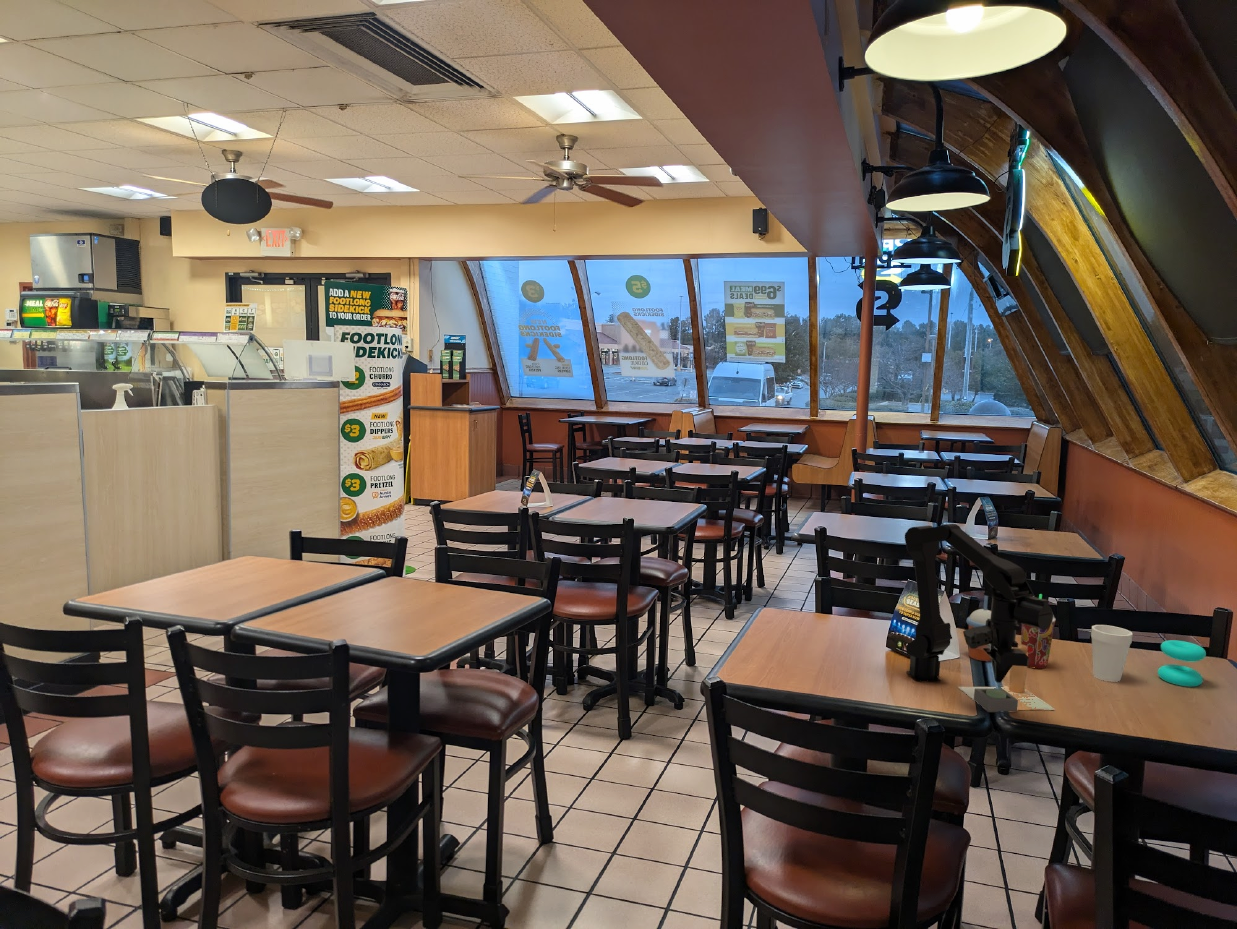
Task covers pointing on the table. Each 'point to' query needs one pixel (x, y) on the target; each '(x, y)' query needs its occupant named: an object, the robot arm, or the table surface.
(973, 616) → the cup with straw
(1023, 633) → the smoothie
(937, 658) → the robot arm
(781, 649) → the table surface
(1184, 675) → the donuts
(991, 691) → the button
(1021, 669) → the tan cylindrical piece
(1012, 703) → the sheet
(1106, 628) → the foam cup
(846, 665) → the table surface
